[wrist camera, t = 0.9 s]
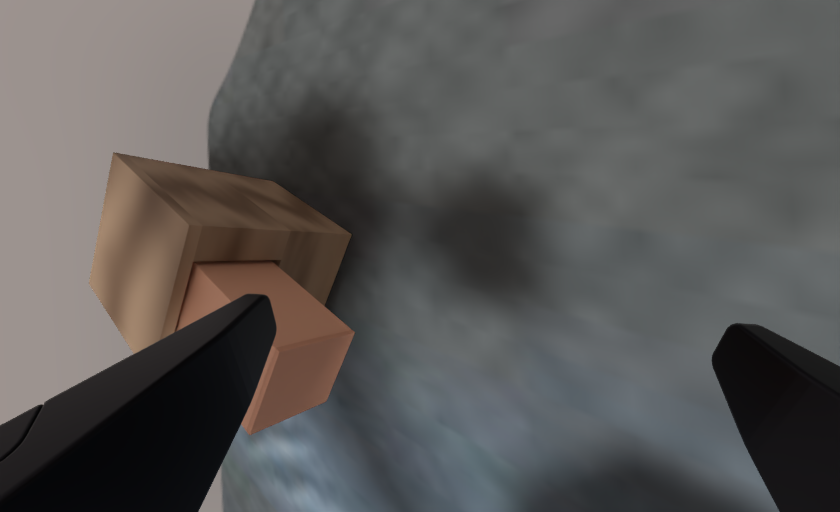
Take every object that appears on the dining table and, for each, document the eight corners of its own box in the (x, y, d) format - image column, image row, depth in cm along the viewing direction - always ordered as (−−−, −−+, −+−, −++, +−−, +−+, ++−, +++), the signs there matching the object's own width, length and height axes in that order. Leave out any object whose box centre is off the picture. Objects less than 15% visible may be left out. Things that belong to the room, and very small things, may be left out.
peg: (354, 332, 19) (279, 351, 16) (326, 401, 20) (249, 435, 17) (249, 241, 24) (172, 239, 20) (231, 301, 25) (154, 310, 22)
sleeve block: (351, 234, 27) (189, 225, 18) (311, 339, 29) (150, 378, 20) (273, 181, 32) (113, 152, 22) (244, 275, 34) (88, 283, 25)
